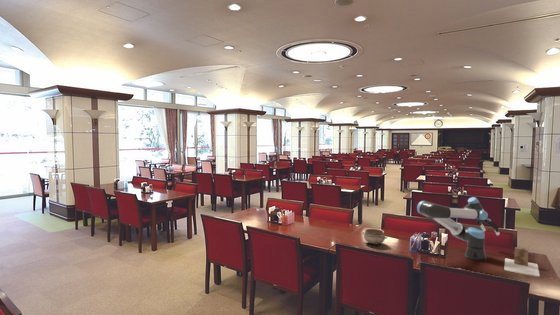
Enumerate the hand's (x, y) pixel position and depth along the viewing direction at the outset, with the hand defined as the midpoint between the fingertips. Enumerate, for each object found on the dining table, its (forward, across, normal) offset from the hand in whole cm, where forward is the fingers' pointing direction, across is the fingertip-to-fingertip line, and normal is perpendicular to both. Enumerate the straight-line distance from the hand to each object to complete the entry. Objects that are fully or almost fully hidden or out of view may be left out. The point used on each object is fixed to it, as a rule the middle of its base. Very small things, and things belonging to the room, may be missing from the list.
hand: (491, 232), depth 270 cm
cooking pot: (-39, +38, +84) cm, 100 cm away
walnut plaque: (+8, -33, +16) cm, 37 cm away
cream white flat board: (+7, -37, +20) cm, 42 cm away
